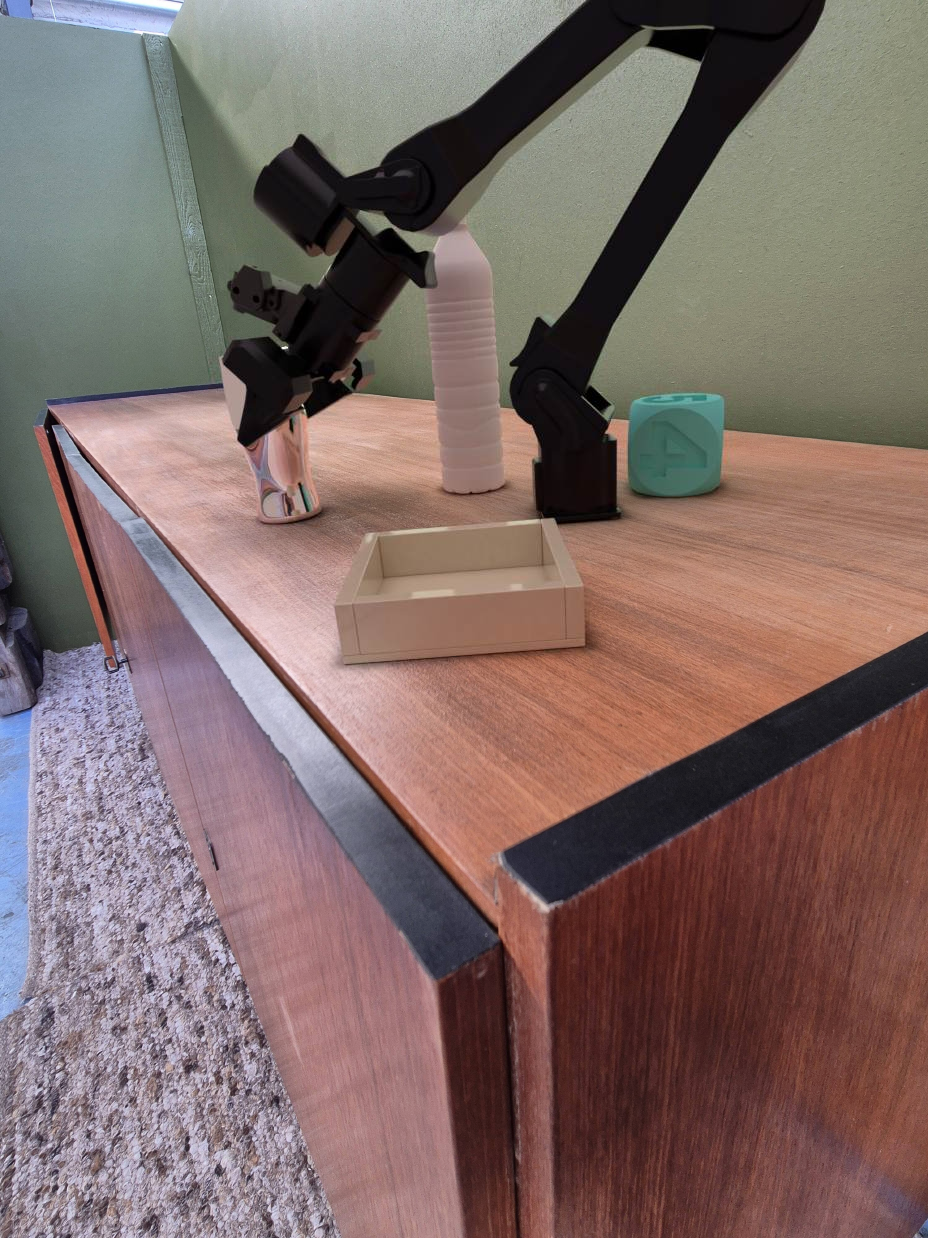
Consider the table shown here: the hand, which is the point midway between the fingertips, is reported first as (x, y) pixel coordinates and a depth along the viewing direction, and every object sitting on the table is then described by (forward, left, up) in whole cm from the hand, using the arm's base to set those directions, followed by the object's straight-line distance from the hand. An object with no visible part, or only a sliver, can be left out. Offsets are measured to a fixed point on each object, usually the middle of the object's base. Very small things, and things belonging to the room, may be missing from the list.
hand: (261, 436), depth 67 cm
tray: (-18, +27, -8) cm, 34 cm away
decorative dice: (-38, +1, -8) cm, 39 cm away
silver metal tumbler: (-1, 0, -8) cm, 8 cm away
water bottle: (-18, -6, -8) cm, 21 cm away
